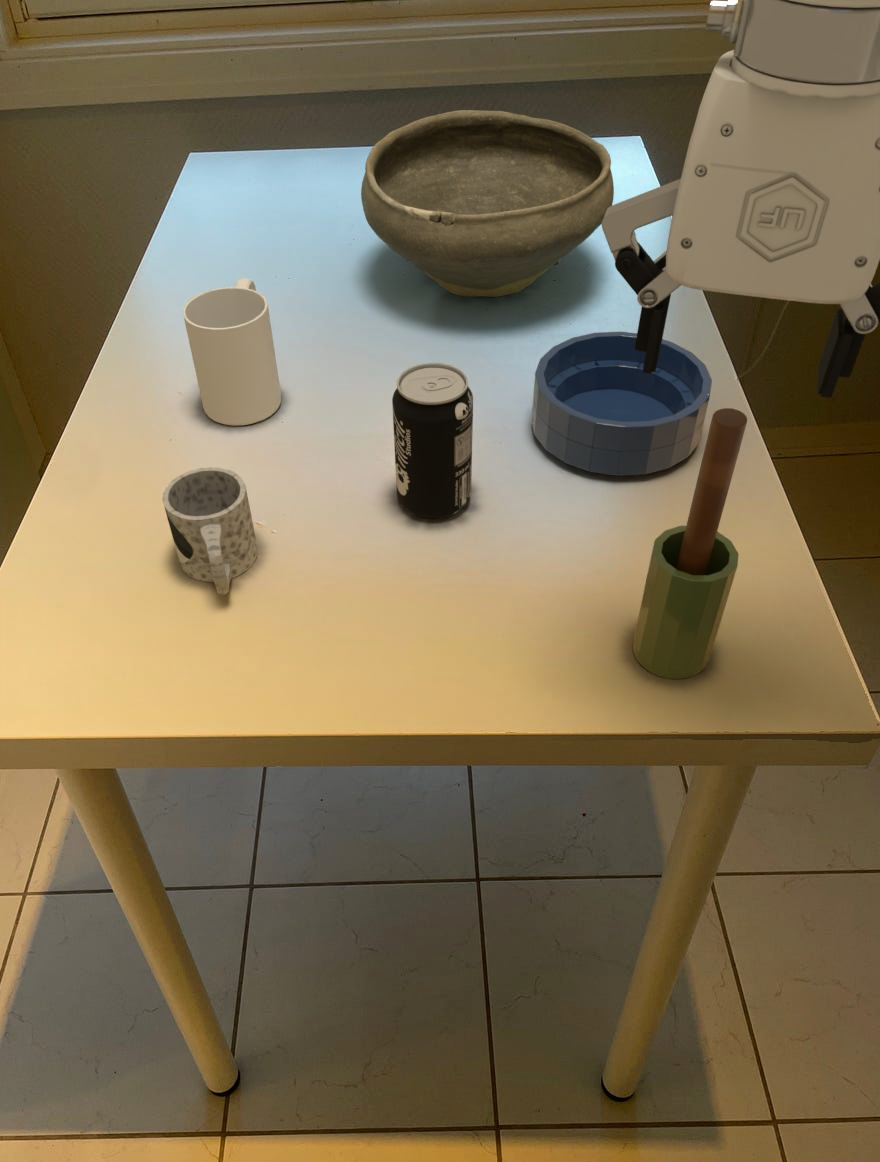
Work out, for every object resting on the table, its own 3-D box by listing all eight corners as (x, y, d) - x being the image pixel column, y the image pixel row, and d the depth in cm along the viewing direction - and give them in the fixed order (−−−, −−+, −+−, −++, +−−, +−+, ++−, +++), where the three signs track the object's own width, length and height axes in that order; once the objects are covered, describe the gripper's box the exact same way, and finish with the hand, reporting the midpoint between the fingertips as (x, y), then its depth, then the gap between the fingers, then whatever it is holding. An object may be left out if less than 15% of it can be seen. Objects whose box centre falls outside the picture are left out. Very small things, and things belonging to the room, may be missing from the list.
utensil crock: (711, 631, 74) (740, 532, 66) (705, 686, 70) (735, 588, 63) (637, 617, 75) (658, 519, 68) (627, 671, 71) (648, 573, 64)
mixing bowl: (704, 397, 95) (717, 342, 90) (690, 494, 85) (704, 437, 80) (548, 377, 98) (553, 323, 94) (516, 468, 88) (520, 412, 84)
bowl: (404, 216, 125) (400, 98, 115) (618, 235, 119) (634, 113, 109) (335, 324, 107) (323, 196, 97) (583, 353, 101) (598, 220, 91)
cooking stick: (687, 636, 72) (748, 410, 58) (684, 656, 71) (746, 429, 56) (660, 631, 73) (714, 405, 58) (657, 651, 71) (711, 424, 57)
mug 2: (176, 536, 83) (160, 474, 79) (252, 523, 84) (240, 461, 79) (185, 616, 77) (167, 554, 72) (267, 601, 78) (256, 539, 73)
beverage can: (385, 489, 87) (378, 372, 78) (450, 468, 89) (450, 352, 80) (416, 532, 83) (412, 413, 74) (484, 509, 84) (488, 391, 76)
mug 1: (272, 429, 94) (256, 330, 86) (194, 425, 95) (171, 327, 87) (297, 362, 102) (285, 266, 94) (225, 359, 103) (207, 264, 95)
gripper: (617, 47, 42) (574, 387, 55) (1053, 75, 38) (899, 433, 51) (639, -2, 47) (595, 321, 59) (1028, 19, 43) (893, 358, 56)
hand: (735, 372), depth 55 cm, fingers open, 9 cm apart
